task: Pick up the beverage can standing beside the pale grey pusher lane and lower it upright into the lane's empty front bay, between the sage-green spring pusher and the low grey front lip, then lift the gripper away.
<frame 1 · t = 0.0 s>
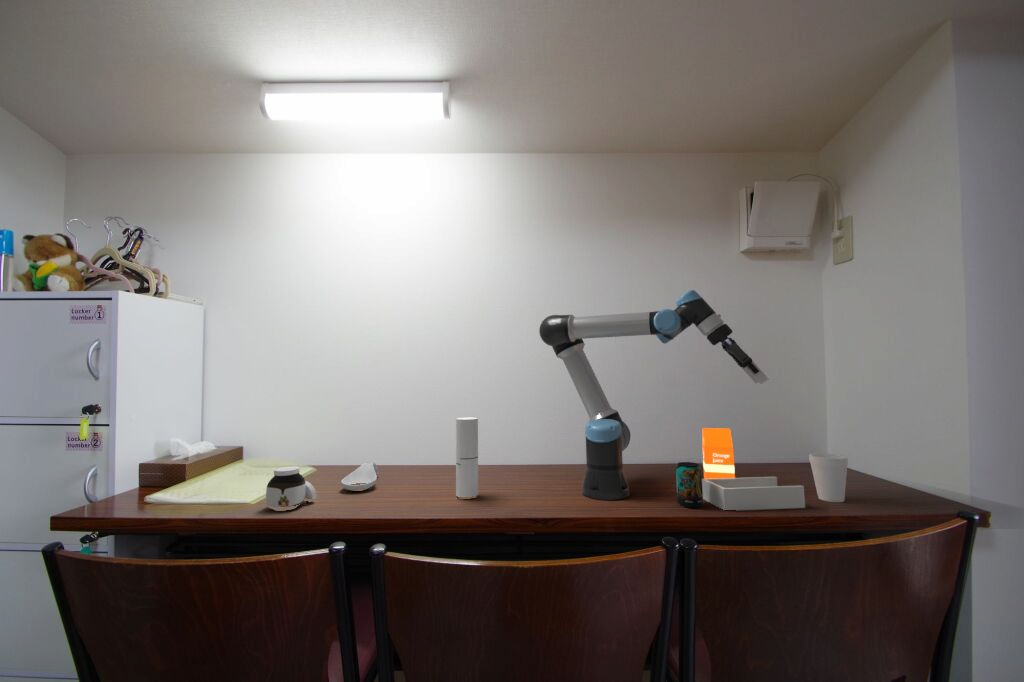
hand: (762, 381, 132), 36 cm above the table, tool tilted 35°, fingers open, 13 cm apart
cylindrical container: (467, 497, 135), on the table
pusher lane: (751, 503, 125), on the table
spoon rest: (363, 486, 151), on the table
beverage can: (690, 506, 123), on the table
pusher: (736, 496, 124), point 2 cm above the table, slide at 0.0 cm
foam cup: (831, 499, 128), on the table
orange juice: (719, 488, 142), on the table
spread jar: (292, 507, 127), on the table
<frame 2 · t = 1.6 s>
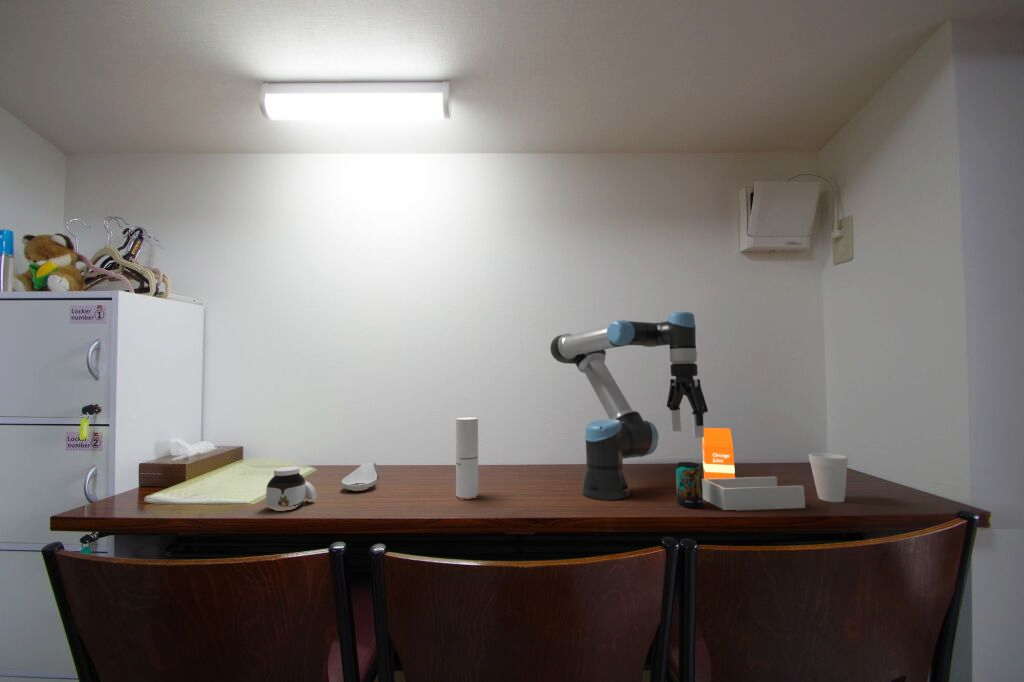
hand: (686, 434, 125), 21 cm above the table, tool pointing down, fingers open, 13 cm apart
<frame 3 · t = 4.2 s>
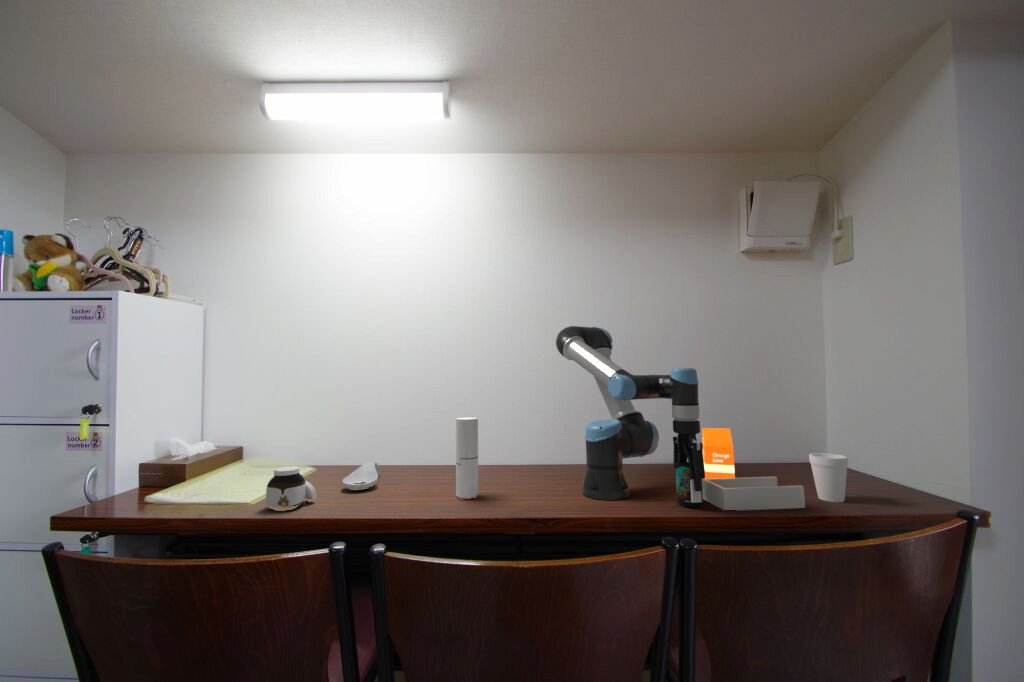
hand: (689, 498, 123), 2 cm above the table, tool pointing down, fingers closed on beverage can, 7 cm apart
beverage can: (690, 506, 123), on the table, touching gripper
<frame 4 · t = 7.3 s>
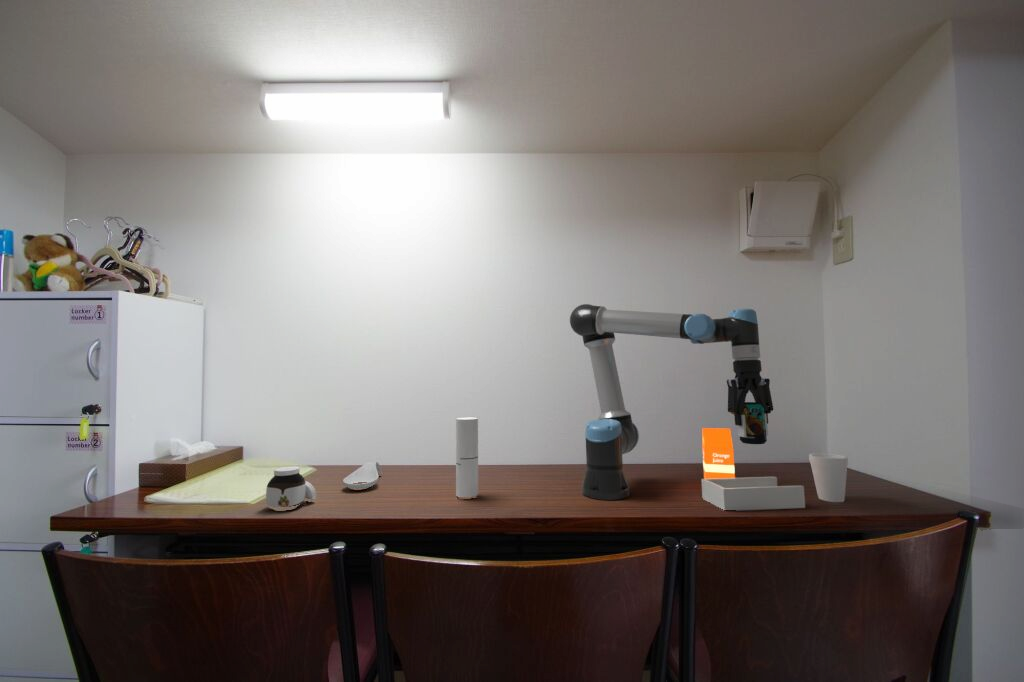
hand: (752, 435, 126), 20 cm above the table, tool pointing down, fingers closed on beverage can, 7 cm apart
beverage can: (753, 443, 126), point 18 cm above the table, touching gripper
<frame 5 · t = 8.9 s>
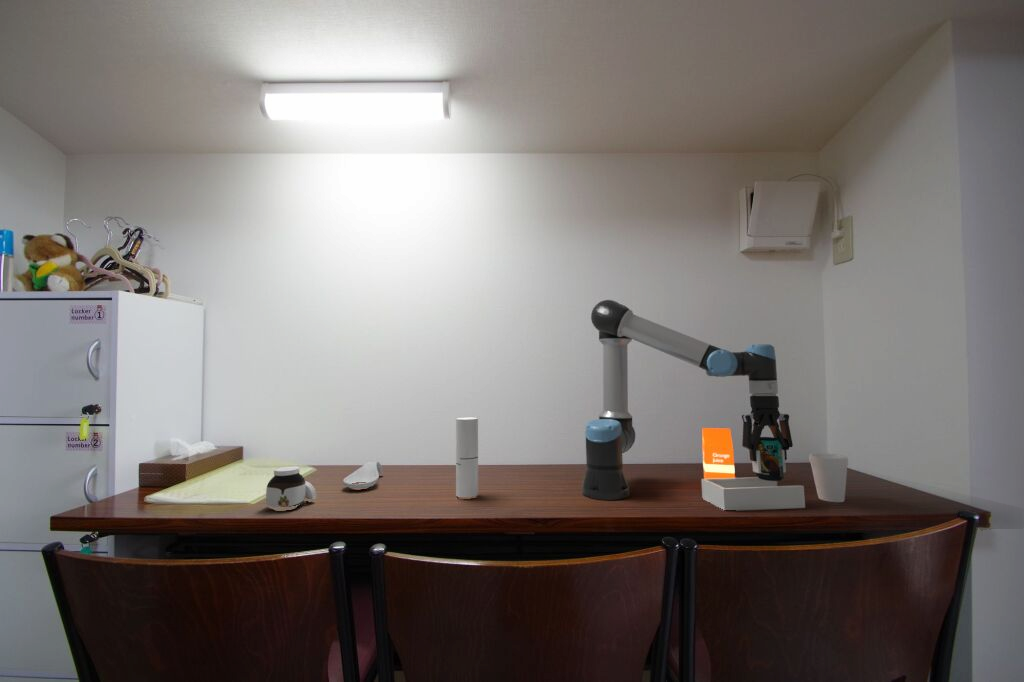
hand: (769, 471, 126), 9 cm above the table, tool pointing down, fingers closed on beverage can, 7 cm apart
beverage can: (769, 479, 126), point 7 cm above the table, touching gripper
when the fingers open (5 cm above the table, at t = 10.3 s): beverage can drops 1 cm, resting on pusher lane.
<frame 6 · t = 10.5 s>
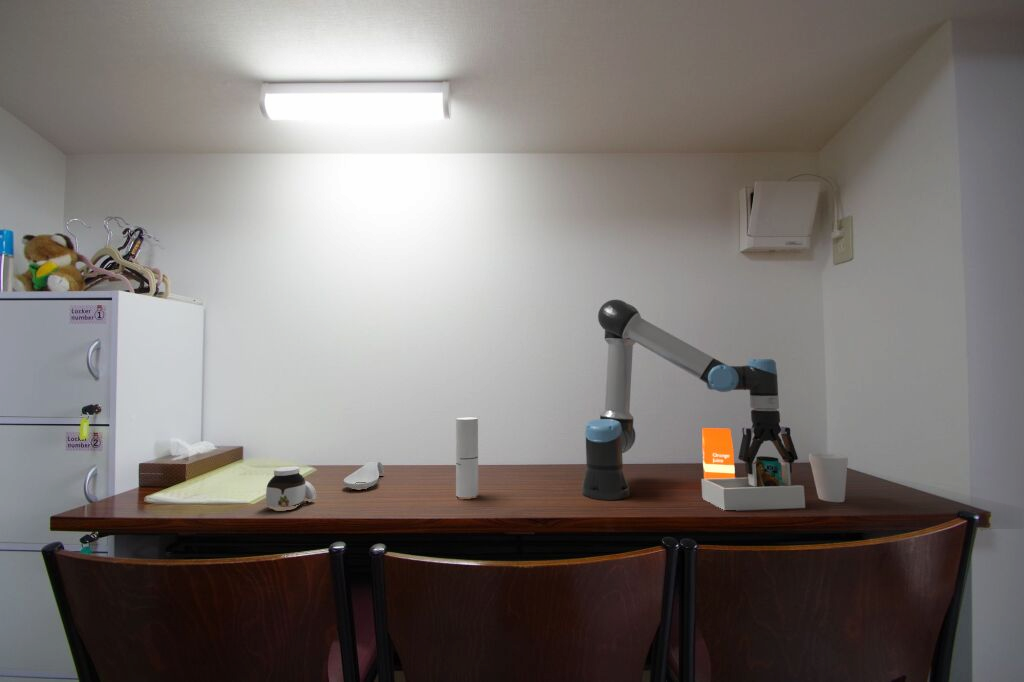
hand: (769, 484, 126), 5 cm above the table, tool pointing down, fingers open, 10 cm apart
beverage can: (769, 499, 125), point 1 cm above the table, touching pusher lane
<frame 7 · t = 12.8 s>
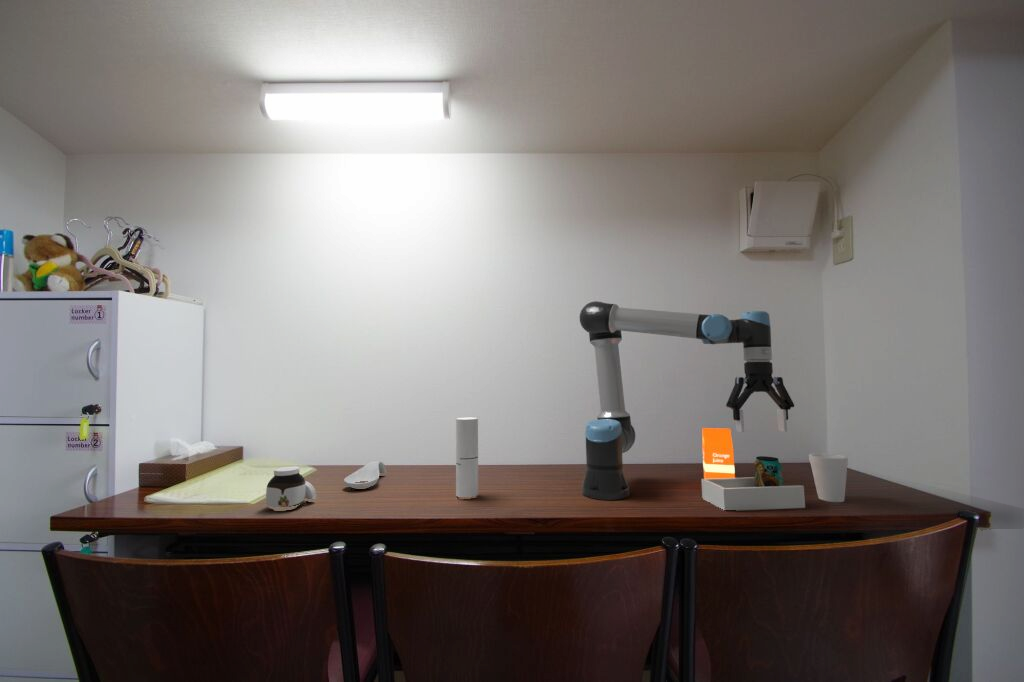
hand: (761, 431, 127), 21 cm above the table, tool pointing down, fingers open, 13 cm apart
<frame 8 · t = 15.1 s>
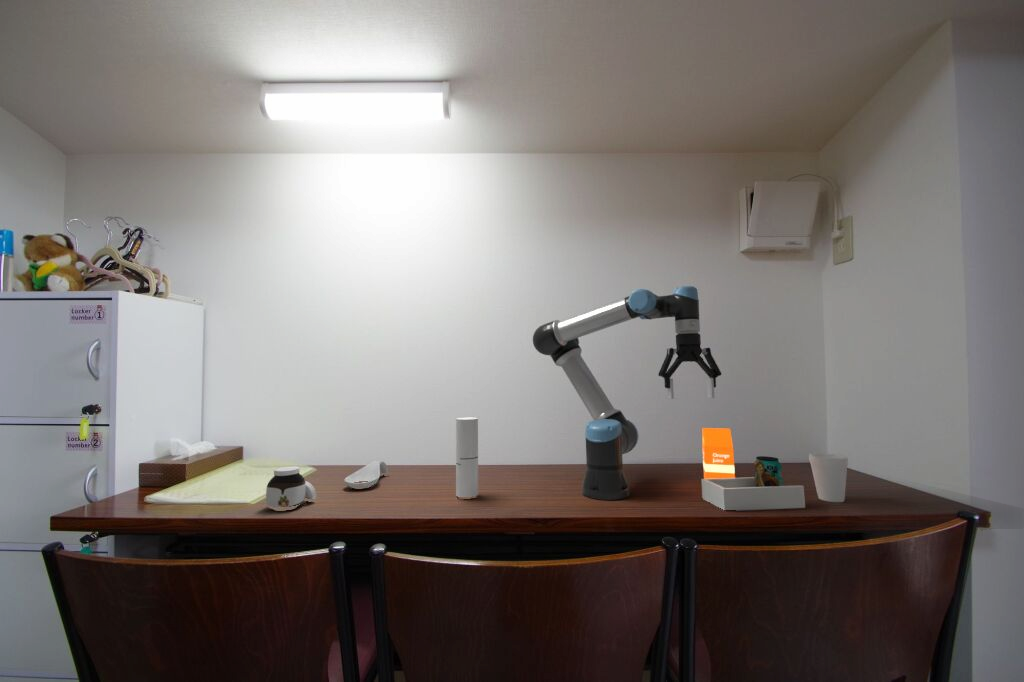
hand: (691, 398, 136), 31 cm above the table, tool pointing down, fingers open, 13 cm apart
at the end: beverage can 0.3 cm from the target spot on the pusher lane, point 0.8 cm above the pusher lane's base; beverage can tilted 0°; the gripper is holding nothing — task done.
